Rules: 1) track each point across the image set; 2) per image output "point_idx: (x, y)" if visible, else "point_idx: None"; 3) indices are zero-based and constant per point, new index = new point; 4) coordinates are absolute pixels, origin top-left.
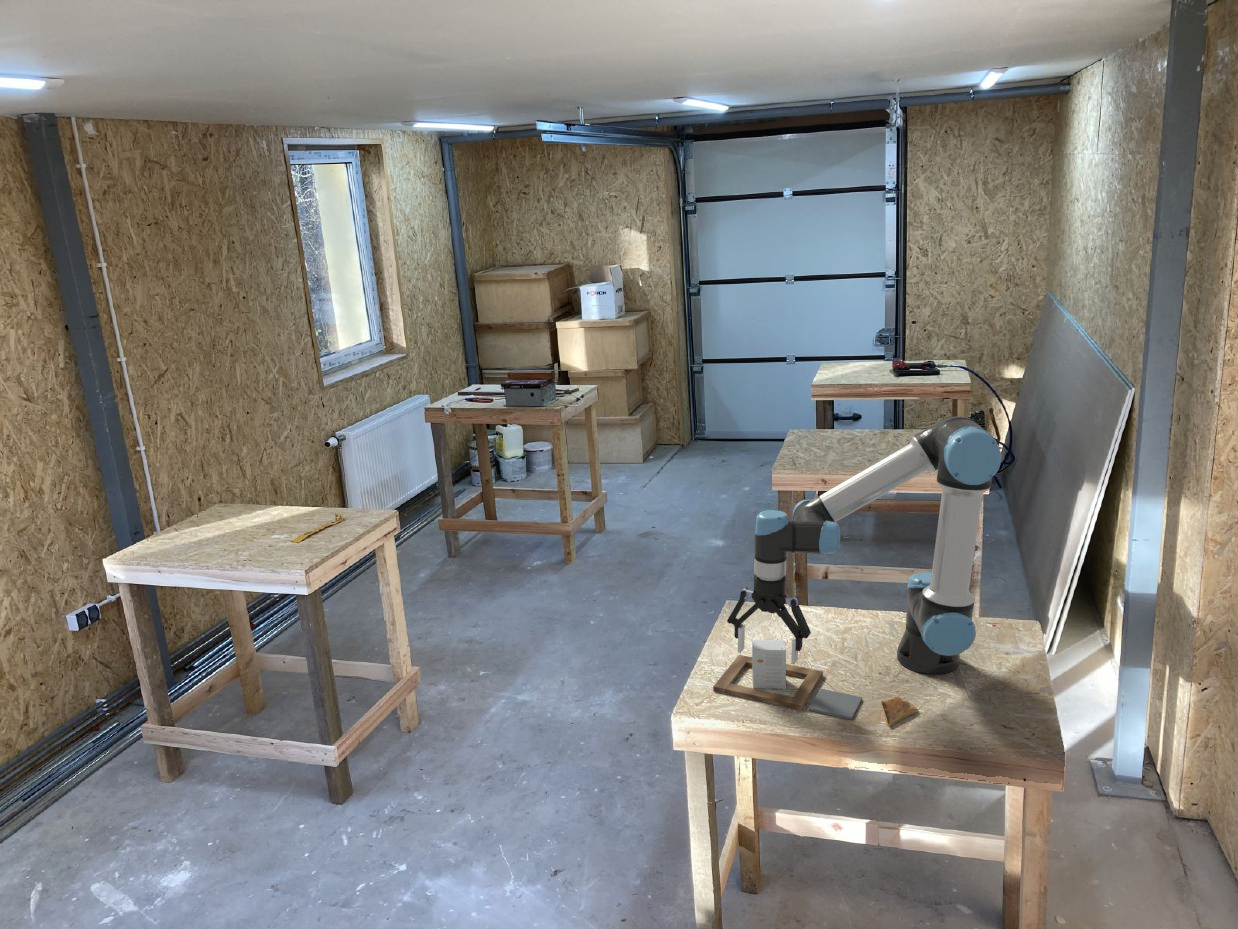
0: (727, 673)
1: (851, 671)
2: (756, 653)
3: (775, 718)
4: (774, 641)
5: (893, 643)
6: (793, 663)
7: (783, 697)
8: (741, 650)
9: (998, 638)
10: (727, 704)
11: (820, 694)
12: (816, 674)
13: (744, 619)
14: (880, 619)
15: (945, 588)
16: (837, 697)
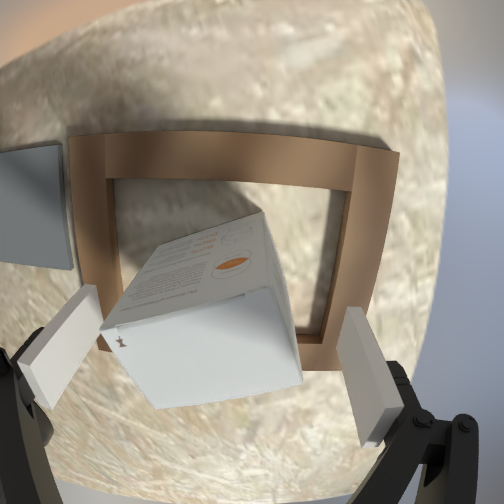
0: (370, 258)
1: None
2: (249, 279)
3: (136, 50)
4: (185, 393)
5: (76, 445)
6: (85, 285)
7: (131, 159)
8: (346, 322)
9: None
10: (321, 73)
11: (57, 238)
12: None
13: (379, 476)
14: (131, 488)
15: None
16: (24, 238)
